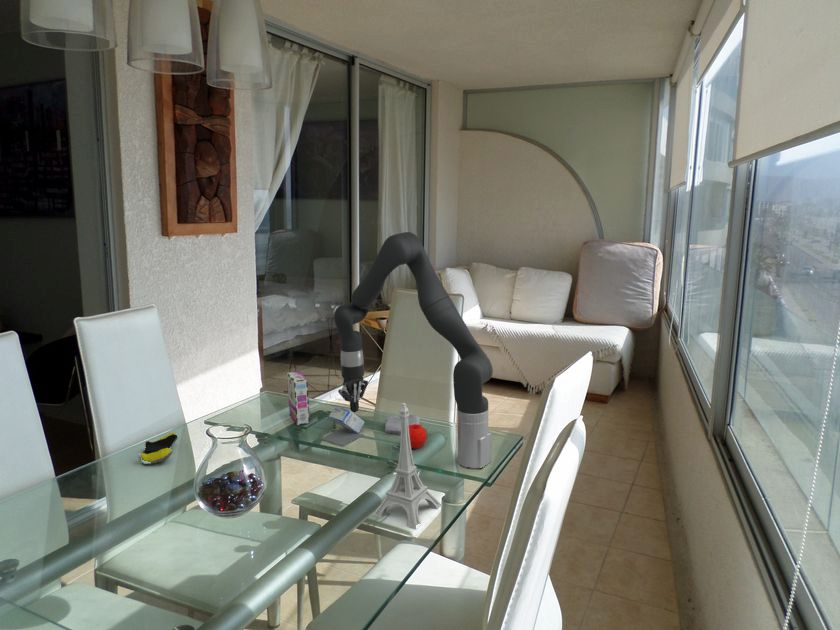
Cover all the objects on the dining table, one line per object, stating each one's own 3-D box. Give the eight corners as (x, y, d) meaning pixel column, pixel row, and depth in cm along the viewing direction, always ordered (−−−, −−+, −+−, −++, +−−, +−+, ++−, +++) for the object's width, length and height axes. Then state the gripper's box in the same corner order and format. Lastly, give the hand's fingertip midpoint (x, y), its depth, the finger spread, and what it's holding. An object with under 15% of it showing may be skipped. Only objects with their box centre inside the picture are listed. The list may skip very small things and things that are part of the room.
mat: (363, 435, 218) (363, 434, 218) (343, 446, 210) (343, 445, 210) (341, 429, 224) (341, 428, 223) (320, 439, 216) (320, 438, 216)
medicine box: (344, 428, 224) (328, 416, 219) (351, 417, 225) (334, 405, 220) (358, 433, 218) (342, 421, 213) (365, 421, 220) (348, 409, 215)
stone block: (419, 441, 218) (421, 423, 227) (418, 429, 215) (420, 411, 224) (384, 441, 218) (387, 424, 228) (382, 430, 216) (385, 413, 225)
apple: (410, 439, 214) (409, 418, 212) (431, 444, 210) (431, 422, 208) (398, 449, 207) (397, 427, 205) (420, 454, 203) (419, 432, 202)
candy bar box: (311, 423, 229) (307, 379, 225) (296, 426, 227) (293, 381, 223) (302, 412, 239) (299, 370, 235) (289, 415, 237) (285, 372, 233)
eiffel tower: (372, 516, 169) (366, 407, 162) (399, 493, 180) (396, 391, 173) (416, 530, 163) (412, 417, 156) (442, 505, 174) (439, 399, 167)
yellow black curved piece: (179, 446, 214) (147, 449, 212) (177, 430, 213) (145, 433, 211) (172, 466, 200) (137, 470, 198) (170, 450, 198) (135, 453, 196)
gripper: (347, 369, 209) (349, 420, 213) (373, 359, 219) (375, 407, 223) (330, 365, 213) (333, 415, 217) (357, 355, 224) (359, 403, 228)
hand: (354, 411), depth 220 cm, fingers closed
